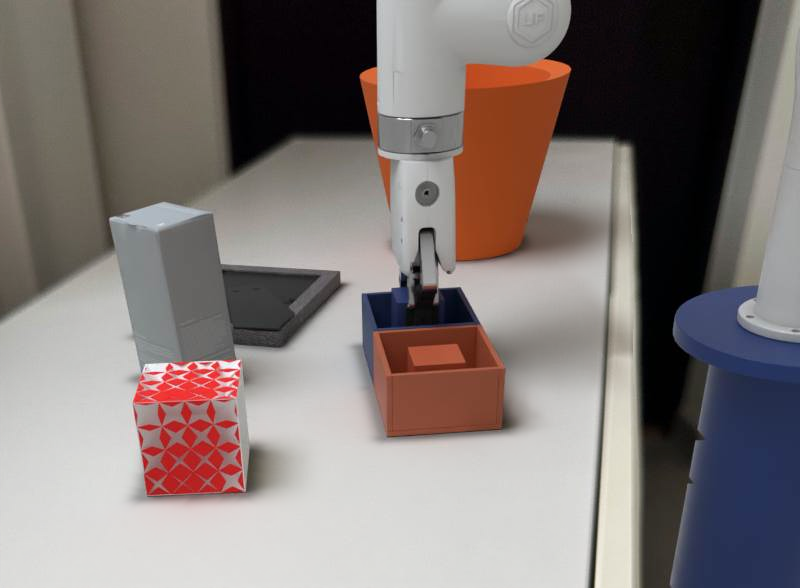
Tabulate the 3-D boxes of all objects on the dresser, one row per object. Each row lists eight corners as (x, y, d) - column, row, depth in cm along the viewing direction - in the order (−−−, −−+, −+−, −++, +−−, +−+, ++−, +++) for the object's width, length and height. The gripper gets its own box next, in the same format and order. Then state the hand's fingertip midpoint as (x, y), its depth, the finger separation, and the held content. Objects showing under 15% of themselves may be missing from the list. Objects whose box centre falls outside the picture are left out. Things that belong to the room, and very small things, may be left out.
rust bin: (478, 381, 100) (481, 324, 97) (501, 429, 91) (505, 368, 88) (373, 388, 100) (372, 331, 96) (386, 436, 91) (386, 376, 88)
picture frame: (279, 347, 109) (340, 284, 125) (277, 328, 108) (340, 267, 124) (140, 336, 114) (217, 276, 130) (138, 317, 113) (215, 260, 129)
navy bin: (458, 340, 109) (460, 286, 105) (478, 380, 100) (480, 323, 97) (362, 346, 108) (361, 293, 105) (373, 387, 100) (372, 330, 96)
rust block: (455, 390, 97) (457, 343, 94) (464, 410, 93) (466, 361, 91) (407, 394, 97) (407, 346, 94) (413, 414, 93) (414, 365, 91)
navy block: (436, 330, 105) (437, 284, 102) (443, 346, 101) (444, 299, 98) (391, 333, 105) (391, 287, 102) (396, 349, 101) (397, 302, 98)
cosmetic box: (240, 381, 102) (224, 210, 93) (180, 402, 99) (157, 227, 89) (190, 359, 108) (170, 195, 98) (131, 379, 104) (105, 211, 95)
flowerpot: (585, 227, 140) (602, 59, 128) (507, 282, 123) (518, 94, 112) (419, 209, 151) (420, 53, 140) (326, 256, 135) (319, 83, 123)
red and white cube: (245, 491, 84) (236, 398, 79) (147, 496, 84) (132, 403, 79) (249, 447, 90) (241, 358, 86) (158, 452, 90) (145, 363, 86)
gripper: (481, 151, 85) (471, 368, 96) (447, 114, 99) (442, 307, 110) (389, 156, 85) (389, 373, 96) (368, 118, 99) (370, 311, 109)
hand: (417, 335), depth 103 cm, fingers closed on navy block, 4 cm apart
